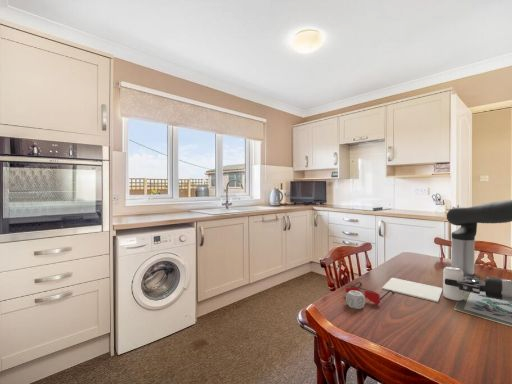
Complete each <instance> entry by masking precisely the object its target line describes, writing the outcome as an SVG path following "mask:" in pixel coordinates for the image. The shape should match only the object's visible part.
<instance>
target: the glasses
mask: <svg viewBox="0 0 512 384" xmlns="http://www.w3.org/2000/svg"><path fill="white" fill-rule="evenodd" d="M358 284H359V285H361V286H363V284H362V283H361V281H357V282H356V283H354V284H353V285H350V286H349V285H348V286H347V287H346V288H345V290H344V291H345V292H346V294H347V293H348V292H349V291H352V290H355V291H359V292H361V293H362V290H363V291H364V297H365V299H367V300H369V301H370V302H373V304H375V305H379V304H380V303H381V300H382V299H383V298H385V297H386V296H387V295H388V294H389V293H392V294H395V292H393V291H392V290H389V291H388V290H387V292H386V293H385V294H384V295H382V296H381V295H380V294H379V293H377V292H375V291H372V290H369V289H365V288H362V287H358V286H357V285H358Z"/></svg>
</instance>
